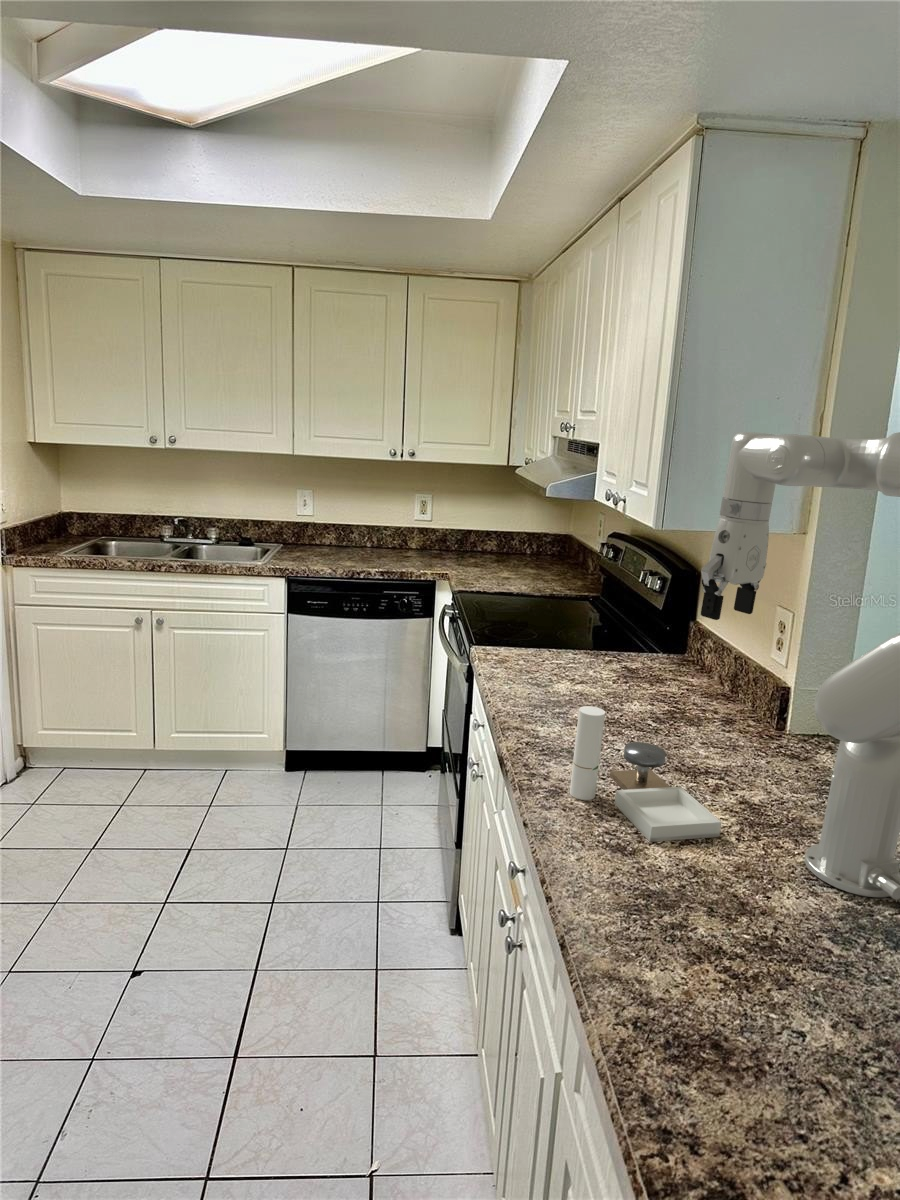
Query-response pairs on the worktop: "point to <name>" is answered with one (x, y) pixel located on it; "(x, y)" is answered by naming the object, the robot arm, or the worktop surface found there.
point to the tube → (587, 752)
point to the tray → (667, 814)
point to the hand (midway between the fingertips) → (726, 614)
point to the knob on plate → (641, 767)
